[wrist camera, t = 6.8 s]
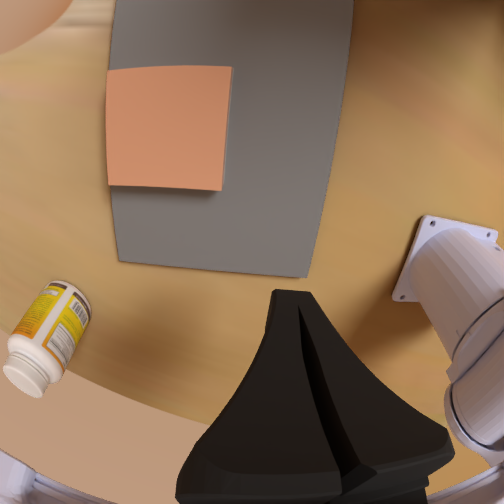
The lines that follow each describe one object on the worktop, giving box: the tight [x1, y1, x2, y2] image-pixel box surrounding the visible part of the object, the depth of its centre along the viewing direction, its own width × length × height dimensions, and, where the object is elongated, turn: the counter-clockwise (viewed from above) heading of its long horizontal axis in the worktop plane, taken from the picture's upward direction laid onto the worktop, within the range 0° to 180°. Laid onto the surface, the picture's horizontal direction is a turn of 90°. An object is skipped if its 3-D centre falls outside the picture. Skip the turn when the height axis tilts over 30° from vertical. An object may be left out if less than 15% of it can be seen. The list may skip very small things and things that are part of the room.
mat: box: [109, 0, 354, 278], centre depth 16 cm, size 14×20×1 cm
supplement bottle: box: [3, 280, 91, 398], centre depth 20 cm, size 6×6×10 cm
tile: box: [106, 65, 234, 191], centre depth 15 cm, size 2×7×7 cm
